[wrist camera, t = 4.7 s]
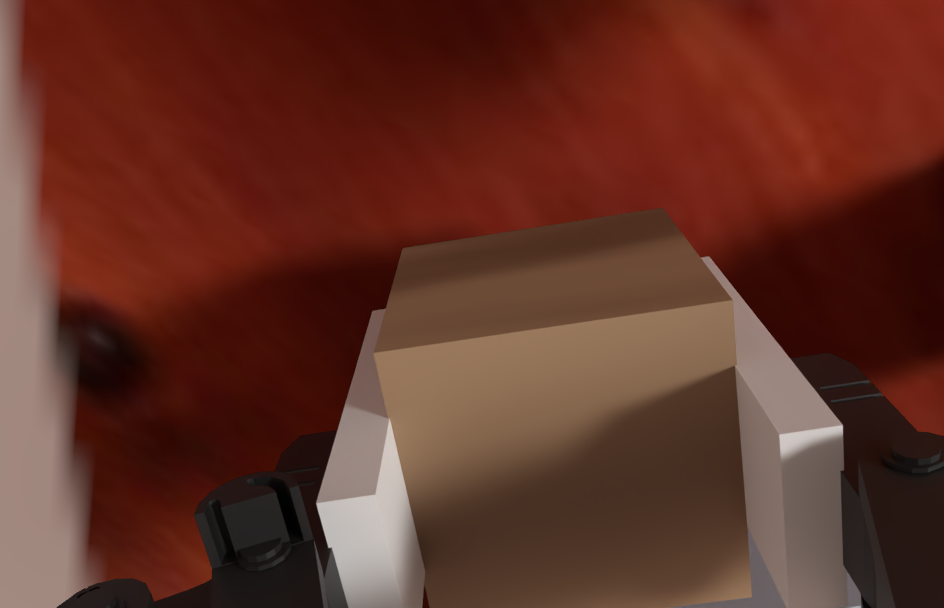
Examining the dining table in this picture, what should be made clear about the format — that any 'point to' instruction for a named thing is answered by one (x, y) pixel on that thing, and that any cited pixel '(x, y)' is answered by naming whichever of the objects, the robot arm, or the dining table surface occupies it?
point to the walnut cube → (568, 417)
